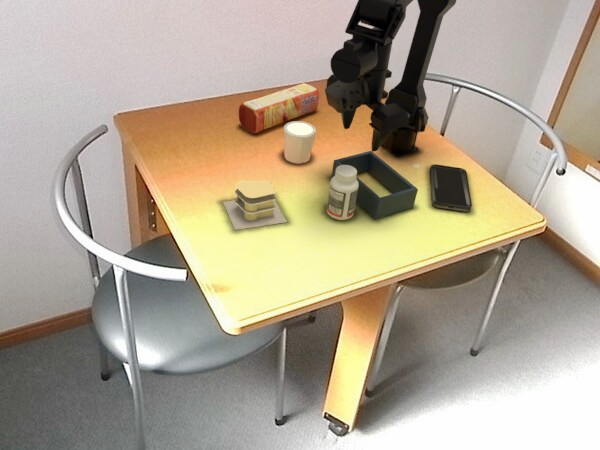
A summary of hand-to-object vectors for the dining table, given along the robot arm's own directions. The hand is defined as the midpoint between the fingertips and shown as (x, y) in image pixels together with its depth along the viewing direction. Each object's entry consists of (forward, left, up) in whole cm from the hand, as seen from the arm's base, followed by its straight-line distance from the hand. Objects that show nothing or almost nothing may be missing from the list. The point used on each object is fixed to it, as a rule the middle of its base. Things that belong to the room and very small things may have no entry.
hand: (360, 139), depth 120 cm
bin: (-3, +3, -12) cm, 12 cm away
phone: (-19, +9, -12) cm, 24 cm away
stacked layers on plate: (+22, -1, -12) cm, 25 cm away
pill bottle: (+7, +6, -12) cm, 15 cm away
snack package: (-1, -31, -12) cm, 34 cm away
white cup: (+4, -15, -12) cm, 20 cm away
